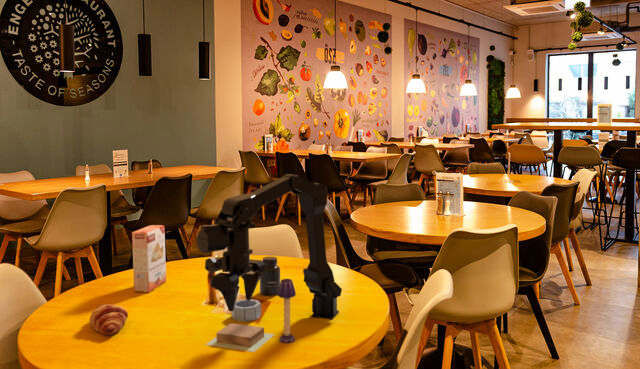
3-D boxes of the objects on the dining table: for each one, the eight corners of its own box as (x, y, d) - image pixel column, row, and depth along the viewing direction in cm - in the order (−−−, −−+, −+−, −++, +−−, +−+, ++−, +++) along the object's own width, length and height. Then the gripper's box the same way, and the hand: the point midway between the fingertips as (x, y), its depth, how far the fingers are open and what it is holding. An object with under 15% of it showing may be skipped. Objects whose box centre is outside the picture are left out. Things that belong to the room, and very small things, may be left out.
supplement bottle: (271, 297, 184) (270, 261, 182) (255, 293, 188) (254, 258, 187) (284, 292, 189) (284, 257, 188) (269, 288, 193) (268, 254, 192)
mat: (274, 336, 151) (274, 334, 151) (253, 353, 139) (253, 351, 139) (229, 329, 156) (229, 328, 156) (205, 346, 144) (205, 344, 144)
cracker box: (150, 293, 190) (147, 232, 188) (133, 292, 191) (130, 232, 189) (167, 281, 204) (165, 224, 201) (152, 280, 205) (149, 224, 202)
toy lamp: (300, 341, 147) (299, 279, 145) (287, 347, 143) (286, 283, 141) (287, 337, 150) (286, 276, 148) (274, 342, 146) (273, 280, 144)
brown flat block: (264, 336, 149) (264, 327, 149) (251, 347, 142) (250, 337, 142) (231, 332, 153) (230, 323, 152) (216, 342, 146) (216, 332, 146)
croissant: (96, 327, 169) (81, 306, 167) (126, 307, 172) (112, 286, 170) (102, 351, 150) (85, 328, 148) (136, 328, 153) (120, 305, 151)
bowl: (264, 315, 167) (264, 300, 167) (252, 324, 160) (251, 309, 159) (241, 312, 170) (240, 298, 170) (227, 321, 163) (227, 306, 162)
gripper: (229, 237, 156) (231, 292, 158) (190, 252, 139) (193, 313, 141) (265, 240, 152) (266, 296, 154) (230, 256, 135) (232, 318, 137)
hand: (240, 305), depth 147 cm, fingers open, 9 cm apart
